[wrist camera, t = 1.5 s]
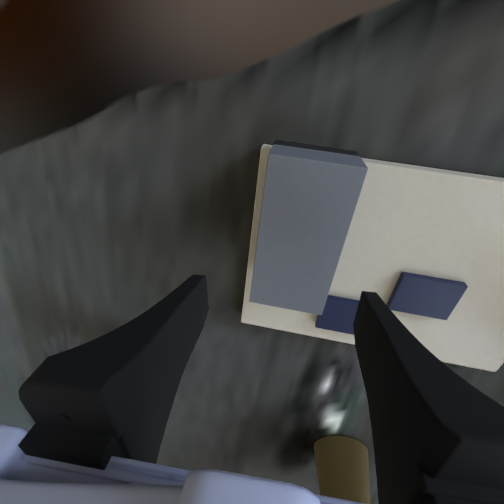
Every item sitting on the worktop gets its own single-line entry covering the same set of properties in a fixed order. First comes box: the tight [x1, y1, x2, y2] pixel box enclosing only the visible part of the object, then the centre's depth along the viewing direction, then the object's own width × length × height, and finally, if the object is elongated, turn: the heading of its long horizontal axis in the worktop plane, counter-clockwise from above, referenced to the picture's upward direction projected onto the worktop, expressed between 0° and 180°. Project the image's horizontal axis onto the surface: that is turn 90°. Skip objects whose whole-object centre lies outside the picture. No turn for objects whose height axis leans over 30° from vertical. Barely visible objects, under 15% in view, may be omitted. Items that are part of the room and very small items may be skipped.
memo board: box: [241, 144, 504, 372], centre depth 20 cm, size 20×14×1 cm
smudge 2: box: [315, 295, 359, 335], centre depth 21 cm, size 4×3×1 cm
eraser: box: [249, 140, 368, 315], centre depth 17 cm, size 9×4×4 cm, turn 174°
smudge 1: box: [386, 271, 468, 320], centre depth 19 cm, size 4×3×1 cm
